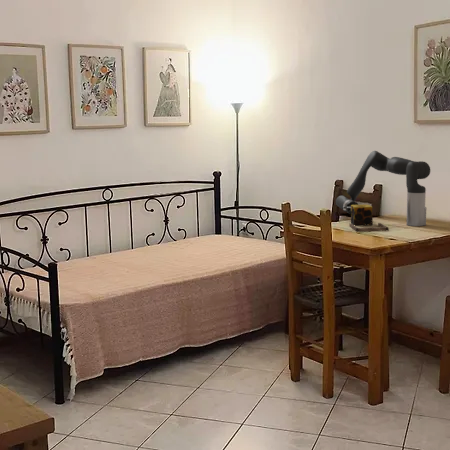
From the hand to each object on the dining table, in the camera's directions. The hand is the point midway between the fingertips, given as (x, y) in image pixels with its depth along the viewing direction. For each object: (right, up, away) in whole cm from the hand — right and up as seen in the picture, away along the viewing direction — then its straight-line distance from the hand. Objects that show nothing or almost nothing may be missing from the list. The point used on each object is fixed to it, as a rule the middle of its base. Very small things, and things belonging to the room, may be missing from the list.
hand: (358, 211), depth 379 cm
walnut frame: (+1, -9, -20) cm, 22 cm away
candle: (0, -7, -6) cm, 10 cm away
